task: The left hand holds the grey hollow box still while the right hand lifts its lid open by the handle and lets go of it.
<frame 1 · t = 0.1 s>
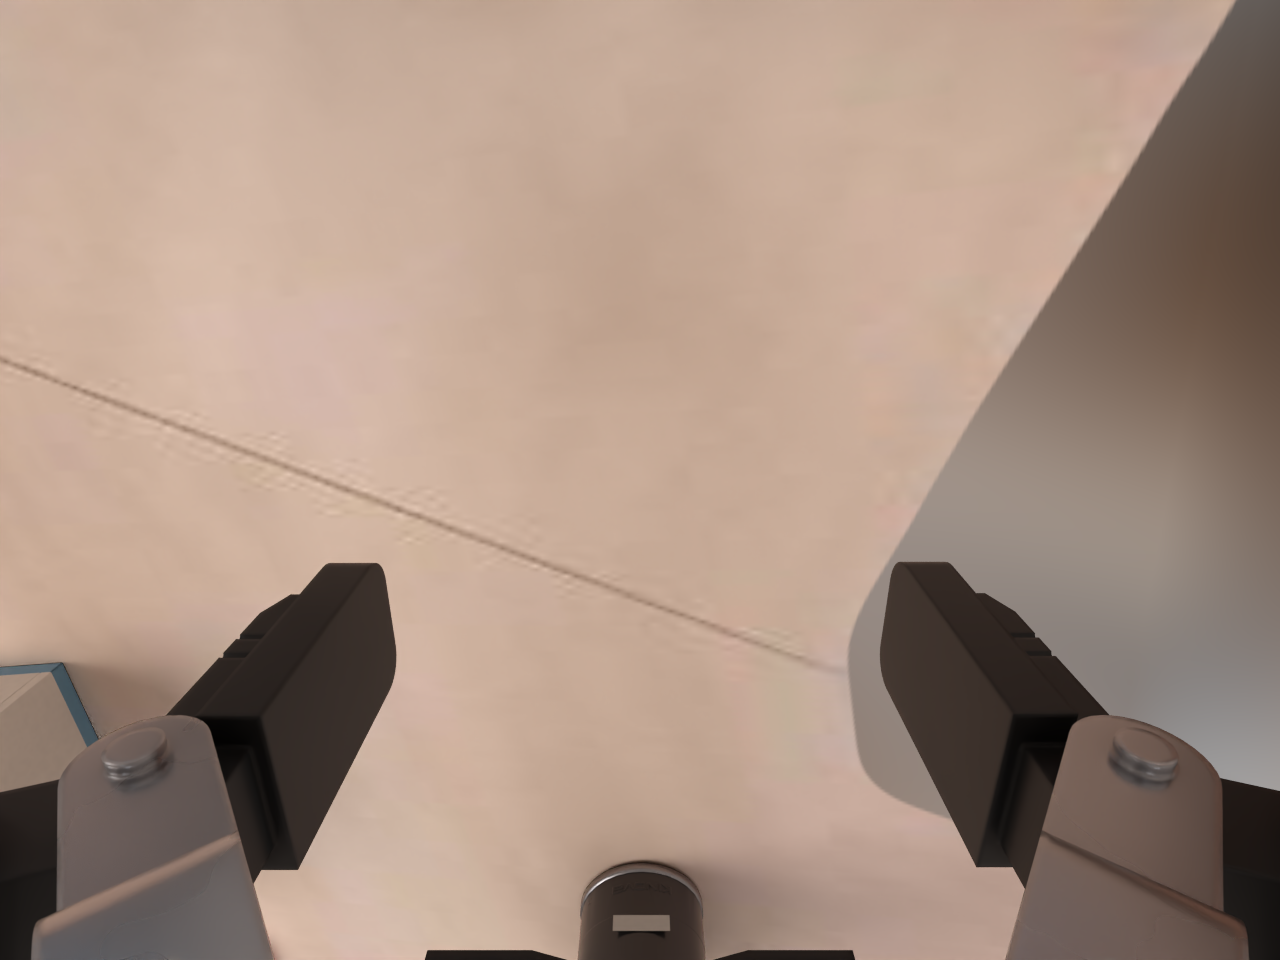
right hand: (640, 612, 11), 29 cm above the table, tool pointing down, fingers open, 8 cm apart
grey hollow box: (45, 767, 50), on the table
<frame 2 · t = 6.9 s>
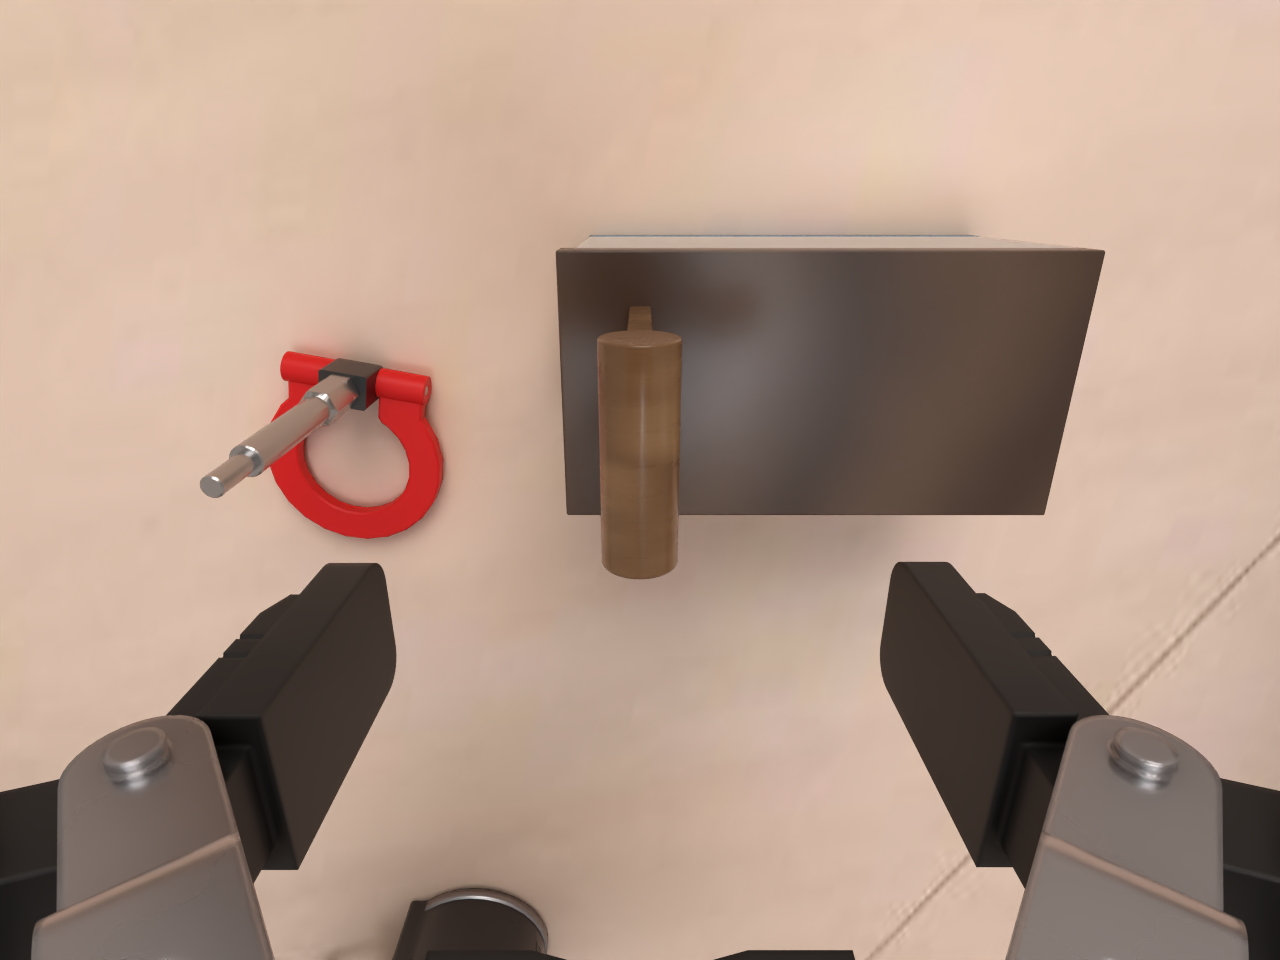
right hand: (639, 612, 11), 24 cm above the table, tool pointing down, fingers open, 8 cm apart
tow hook: (362, 447, 36), on the table
lid: (841, 418, 21), point 13 cm above the table, hinge at 0.0°
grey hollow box: (773, 338, 33), on the table
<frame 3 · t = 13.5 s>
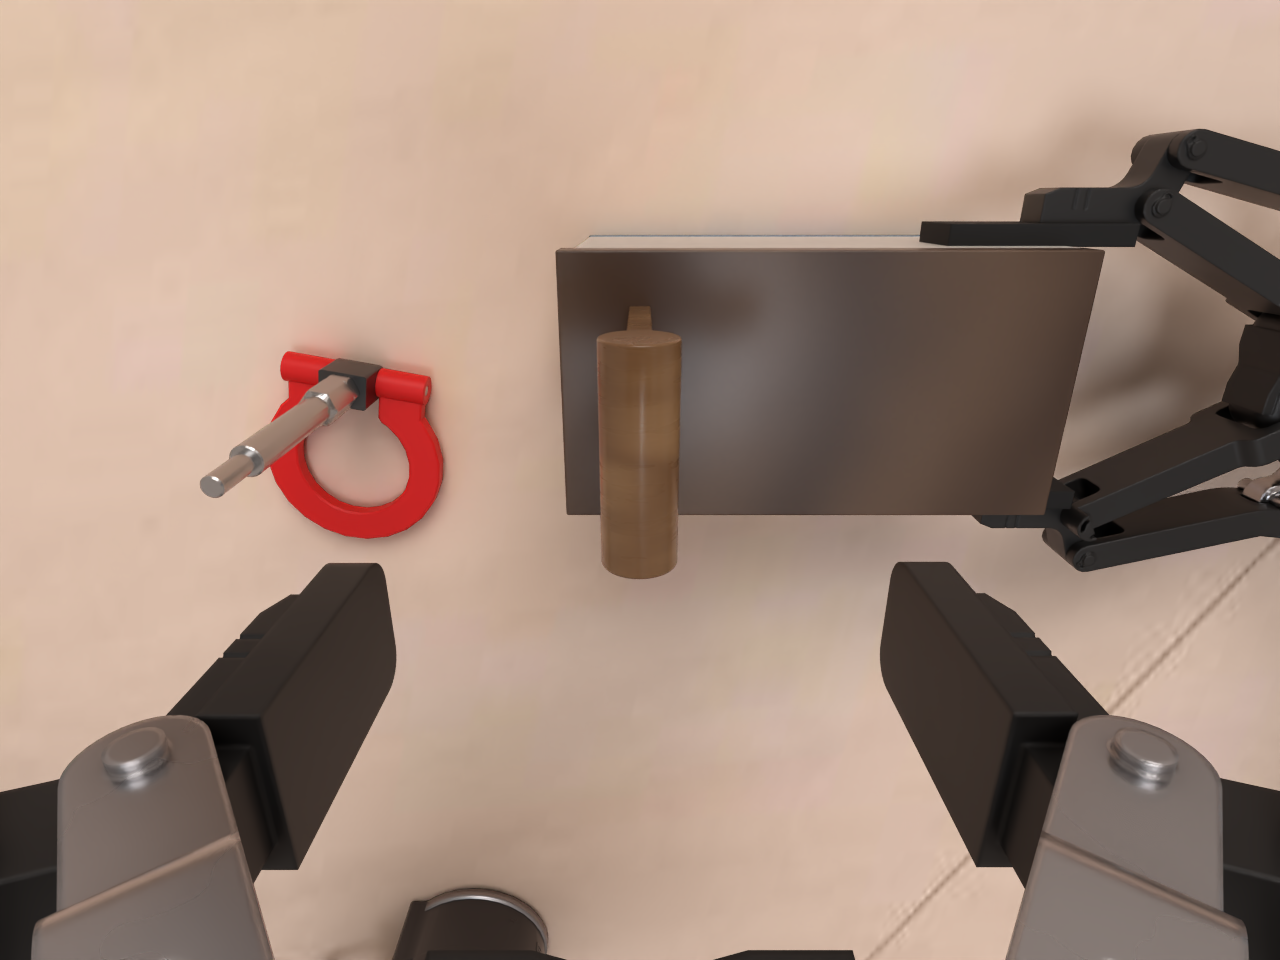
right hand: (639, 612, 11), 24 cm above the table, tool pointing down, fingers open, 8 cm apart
left hand: (914, 369, 27), fingers closed on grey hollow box, 9 cm apart
tow hook: (362, 447, 36), on the table
lid: (841, 418, 21), point 13 cm above the table, hinge at 0.0°
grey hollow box: (773, 338, 33), on the table, touching left hand
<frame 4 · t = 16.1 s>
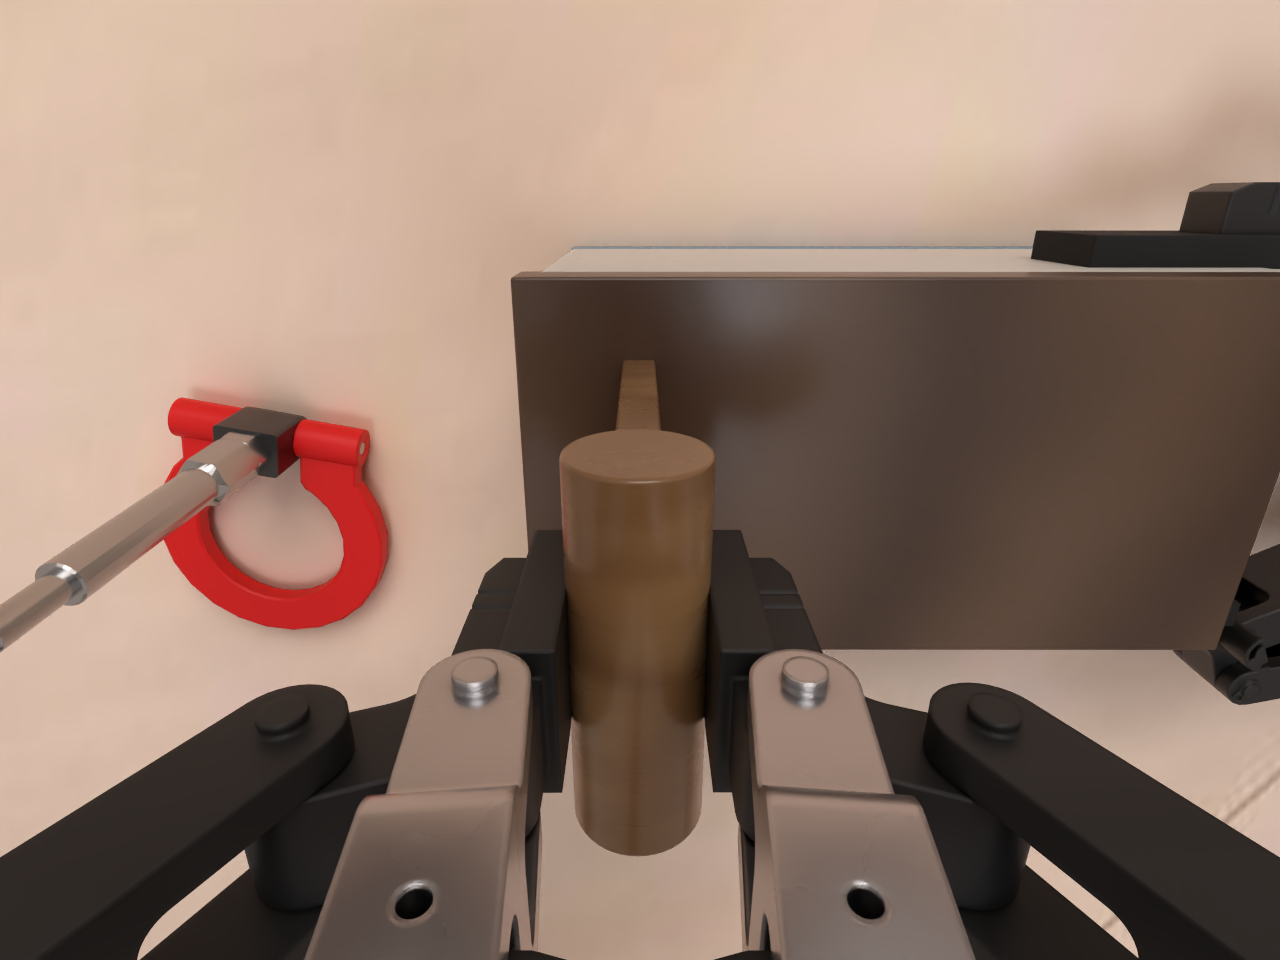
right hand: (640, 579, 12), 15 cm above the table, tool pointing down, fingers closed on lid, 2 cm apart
tow hook: (286, 516, 28), on the table
lid: (955, 544, 14), point 13 cm above the table, hinge at 0.1°, touching right hand
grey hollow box: (812, 380, 26), on the table, touching left hand
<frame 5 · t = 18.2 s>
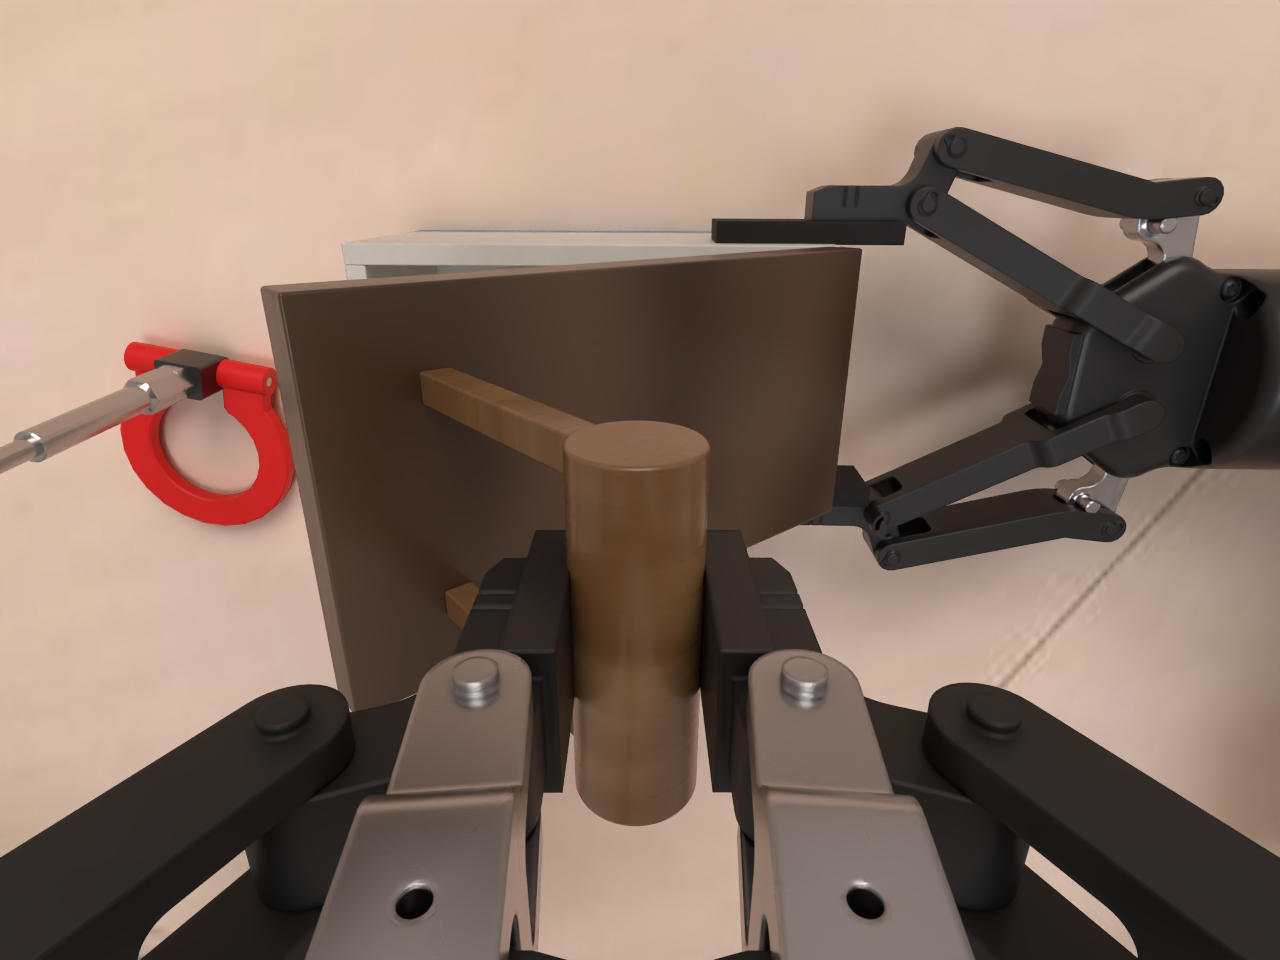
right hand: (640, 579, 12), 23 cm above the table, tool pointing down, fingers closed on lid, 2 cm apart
left hand: (708, 365, 28), fingers closed on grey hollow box, 9 cm apart
tow hook: (218, 436, 36), on the table
lid: (741, 474, 17), point 18 cm above the table, hinge at 42.0°, touching right hand
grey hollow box: (609, 333, 34), on the table, touching left hand
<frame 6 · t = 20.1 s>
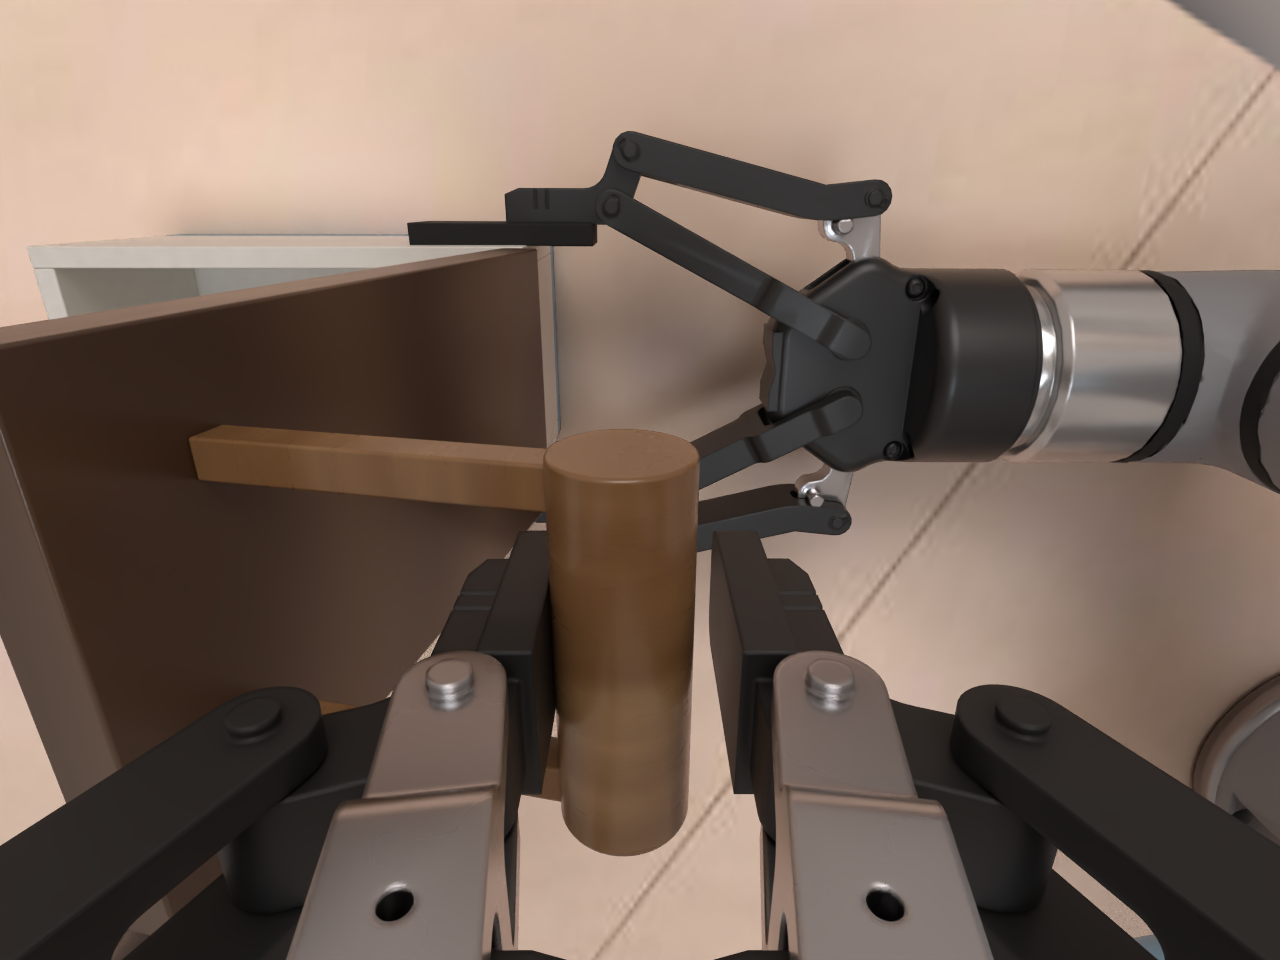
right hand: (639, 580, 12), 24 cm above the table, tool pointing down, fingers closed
left hand: (433, 366, 28), fingers closed on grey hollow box, 9 cm apart
lid: (545, 480, 17), point 19 cm above the table, hinge at 77.7°
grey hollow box: (379, 336, 34), on the table, touching left hand
when the left hand's fingers open (6 cm above the table, at t = 24.2 s): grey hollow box stays where it is, on the table.
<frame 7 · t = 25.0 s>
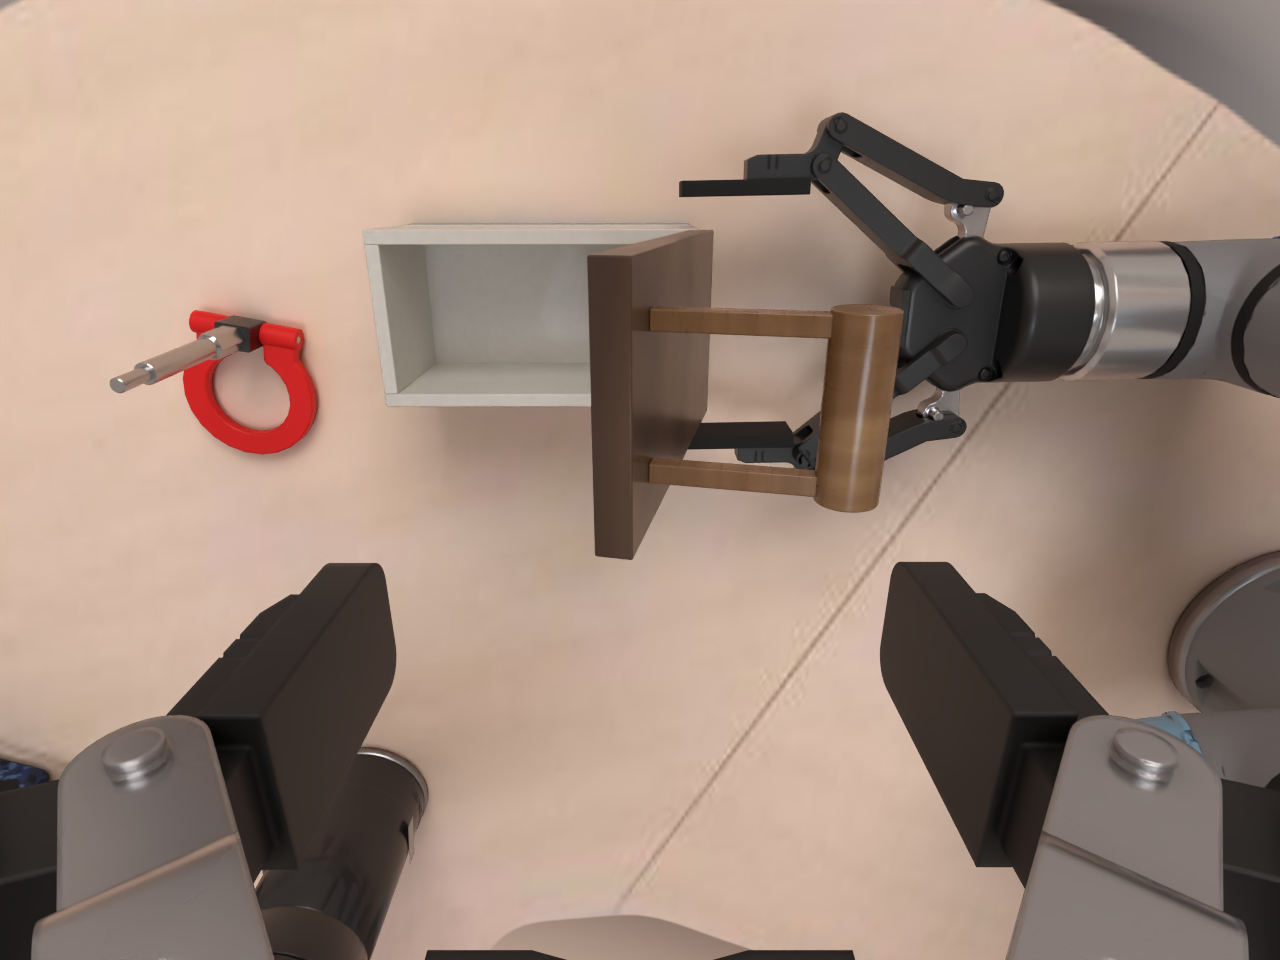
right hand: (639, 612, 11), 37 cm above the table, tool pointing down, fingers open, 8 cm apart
left hand: (679, 320, 40), fingers open, 13 cm apart
tow hook: (256, 384, 47), on the table
lid: (759, 363, 28), point 19 cm above the table, hinge at 77.1°
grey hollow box: (554, 300, 45), on the table
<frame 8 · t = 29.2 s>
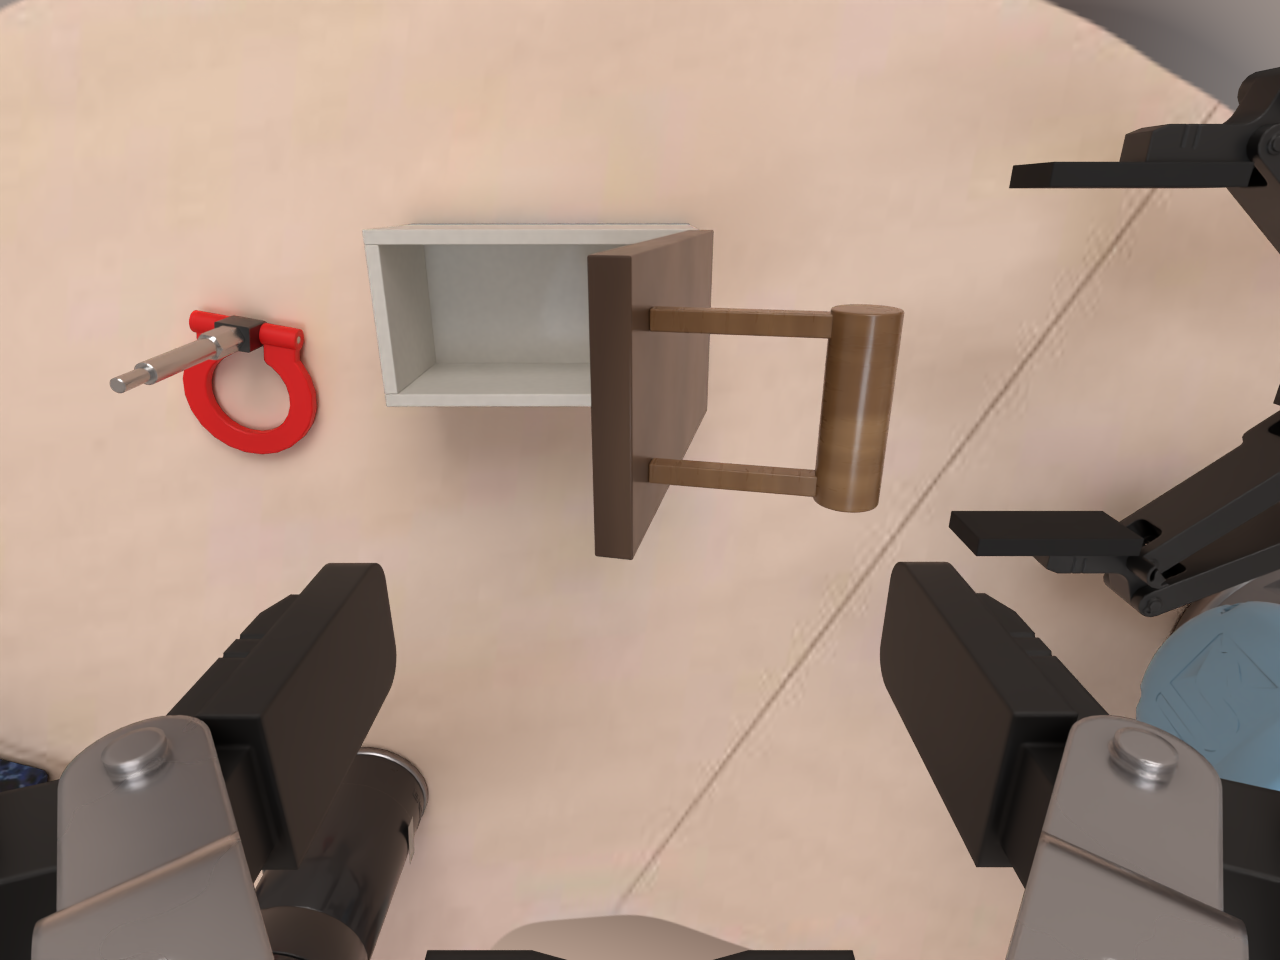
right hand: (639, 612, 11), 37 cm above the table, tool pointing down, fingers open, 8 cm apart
tow hook: (256, 384, 47), on the table
lid: (759, 363, 28), point 19 cm above the table, hinge at 77.1°
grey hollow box: (554, 300, 45), on the table
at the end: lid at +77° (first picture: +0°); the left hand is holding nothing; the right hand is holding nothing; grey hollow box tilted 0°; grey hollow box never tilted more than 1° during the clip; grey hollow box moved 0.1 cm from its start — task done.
